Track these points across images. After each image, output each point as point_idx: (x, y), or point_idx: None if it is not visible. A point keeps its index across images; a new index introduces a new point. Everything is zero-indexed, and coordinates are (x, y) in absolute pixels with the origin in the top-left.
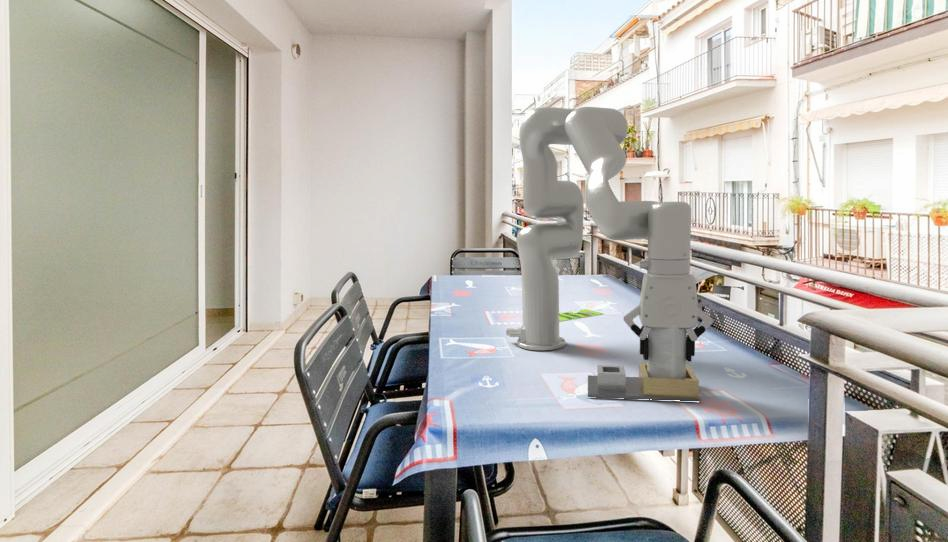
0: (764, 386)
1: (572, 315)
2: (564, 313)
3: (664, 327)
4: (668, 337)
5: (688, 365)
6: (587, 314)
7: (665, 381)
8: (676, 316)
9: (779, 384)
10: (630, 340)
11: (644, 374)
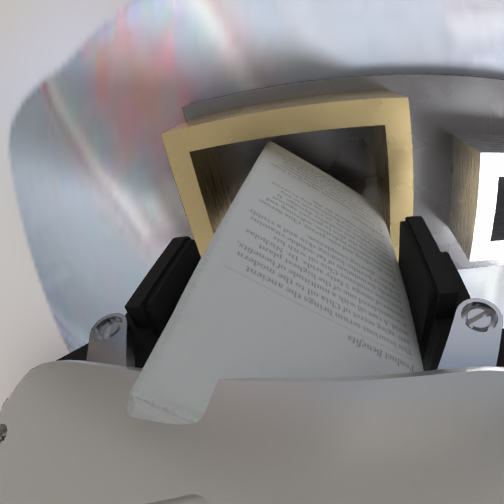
0: (81, 281)
1: None
2: None
3: (297, 382)
4: (266, 300)
5: None
6: None
7: (304, 103)
8: (103, 494)
9: (67, 295)
10: None
11: (403, 161)
